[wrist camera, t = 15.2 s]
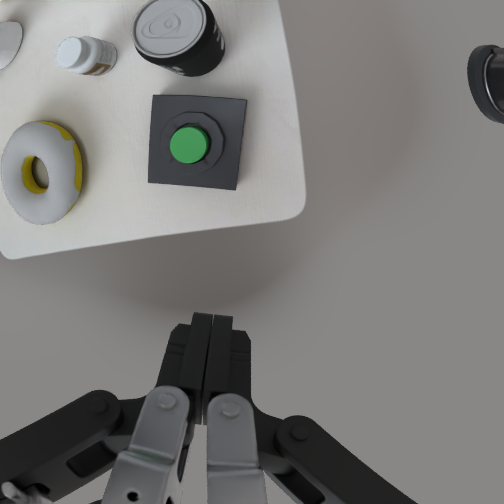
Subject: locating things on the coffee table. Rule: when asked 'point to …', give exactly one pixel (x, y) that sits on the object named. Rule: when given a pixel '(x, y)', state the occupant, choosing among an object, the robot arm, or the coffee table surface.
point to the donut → (58, 168)
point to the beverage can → (178, 36)
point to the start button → (189, 144)
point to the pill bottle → (86, 55)
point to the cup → (9, 41)
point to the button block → (218, 132)
